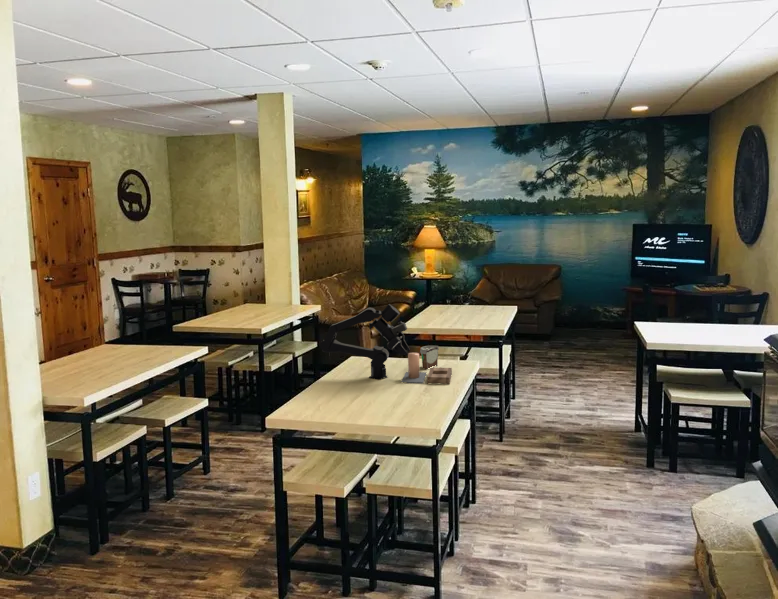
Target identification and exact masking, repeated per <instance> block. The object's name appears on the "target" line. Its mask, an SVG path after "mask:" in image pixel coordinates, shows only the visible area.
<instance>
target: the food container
mask: <svg viewBox="0 0 778 599" xmlns="http://www.w3.org/2000/svg"><path fill="white" fill-rule="evenodd" d="M419 354H421V355H420V356H421V367H422V369H423V368H425V369H424V370H426V369H428V368H430V367H432V366H435V365H437V366H438V364H439V359H438V358H439V345H425V346H422V347H420V350H419ZM428 370H429V369H428Z"/></svg>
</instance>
